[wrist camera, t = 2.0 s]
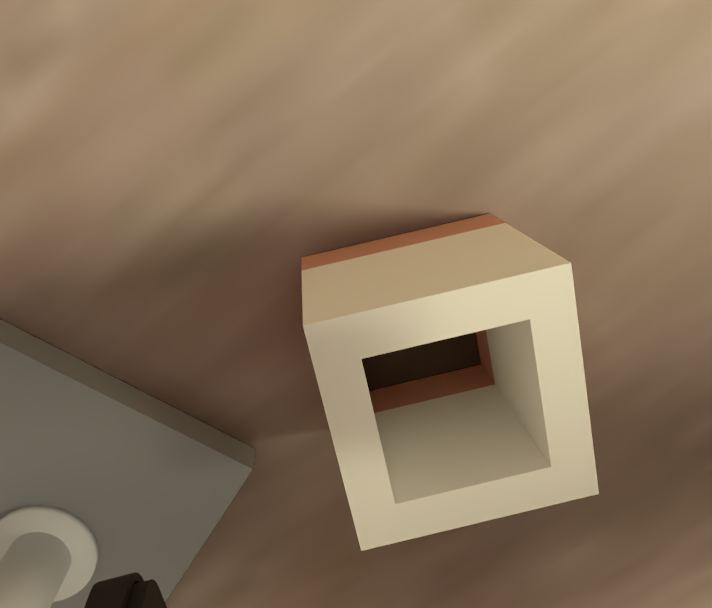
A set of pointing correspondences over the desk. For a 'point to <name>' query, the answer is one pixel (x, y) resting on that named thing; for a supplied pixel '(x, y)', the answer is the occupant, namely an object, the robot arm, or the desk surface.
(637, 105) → the desk surface
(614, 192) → the desk surface
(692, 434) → the desk surface
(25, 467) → the pin board
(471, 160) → the desk surface
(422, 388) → the sleeve
